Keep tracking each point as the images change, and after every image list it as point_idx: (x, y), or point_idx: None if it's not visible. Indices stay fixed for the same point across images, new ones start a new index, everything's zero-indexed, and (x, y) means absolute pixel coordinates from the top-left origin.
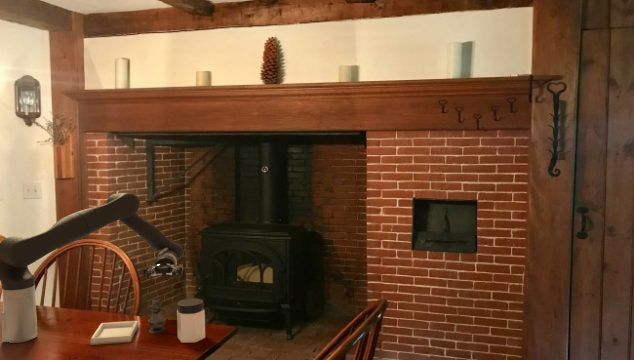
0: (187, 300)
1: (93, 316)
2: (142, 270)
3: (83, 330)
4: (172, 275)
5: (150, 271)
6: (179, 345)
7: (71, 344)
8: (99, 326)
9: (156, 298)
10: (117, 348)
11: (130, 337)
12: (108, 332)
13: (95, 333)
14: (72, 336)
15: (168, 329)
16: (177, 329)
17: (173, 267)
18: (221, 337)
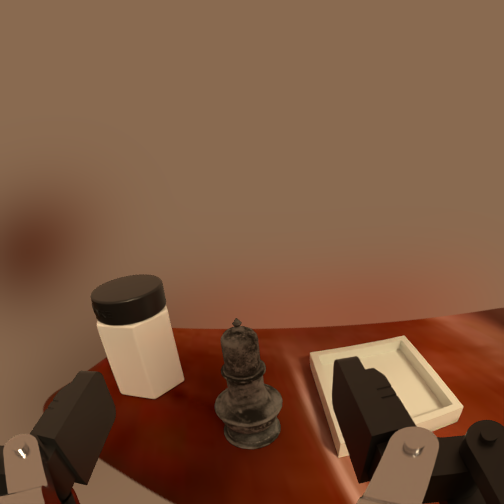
0: (129, 292)
1: None
2: (495, 430)
3: (496, 400)
4: (107, 397)
5: (358, 412)
6: (183, 353)
7: (446, 344)
8: (446, 387)
9: (235, 326)
10: (326, 343)
11: (310, 356)
12: (406, 392)
13: (417, 354)
14: (485, 370)
15: (212, 433)
16: (179, 361)
17: (25, 486)
18: (88, 370)
